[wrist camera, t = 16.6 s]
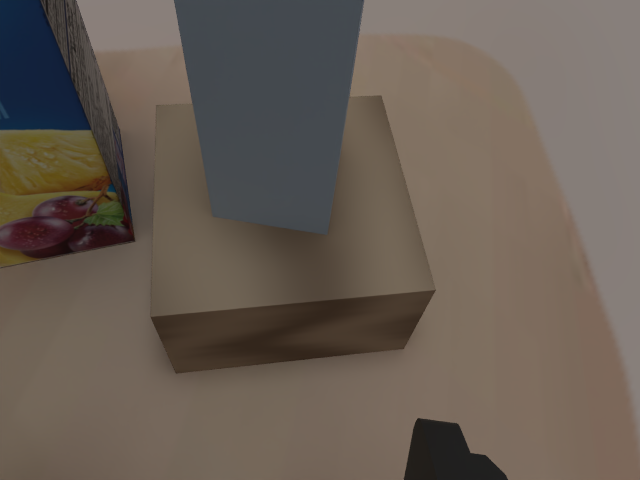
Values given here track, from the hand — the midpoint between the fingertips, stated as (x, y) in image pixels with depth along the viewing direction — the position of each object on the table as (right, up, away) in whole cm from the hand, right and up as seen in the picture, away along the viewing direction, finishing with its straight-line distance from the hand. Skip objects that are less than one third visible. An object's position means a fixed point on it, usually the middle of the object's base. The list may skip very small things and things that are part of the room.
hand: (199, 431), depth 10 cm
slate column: (+1, +6, +12) cm, 13 cm away
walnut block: (0, +2, +16) cm, 17 cm away
